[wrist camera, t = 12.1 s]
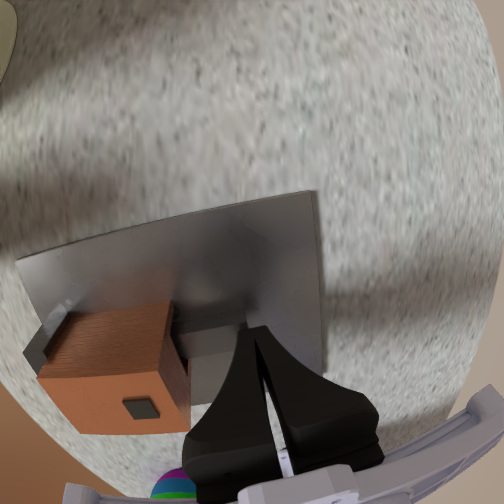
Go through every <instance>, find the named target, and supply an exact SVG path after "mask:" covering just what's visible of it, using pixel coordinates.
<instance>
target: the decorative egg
mask: <svg viewBox="0 0 504 504" xmlns="http://www.w3.org/2000/svg"><path fill="white" fill-rule="evenodd" d="M150 498H159V499H175V498H196V485H195V484H194V483H193V482H192V481H191V480H190V479H189V478H188V477H187V476H186V474H185V473H184V472H183V470H182V469H178V470H172V471H169V472H167V473H166V474H164V475H163V476H162V477H161V478H160V479H159V480H158V481H157V483H156V484H155V486H154V488H153V490H152V493H151V496H150Z"/></svg>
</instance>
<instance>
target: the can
mask: <svg viewBox="0 0 504 504" xmlns="http://www.w3.org/2000/svg"><path fill="white" fill-rule="evenodd" d="M16 33H17V16H16V12H15V10H14V8H13V6H12V5H11V4H10V3H9V2H7V1H4V0H0V83H1V81H2V79H3V77H4V74H5V72H6V69H7V67H8V64H9V61H10V58H11V55H12V51H13V48H14V44H15V39H16Z"/></svg>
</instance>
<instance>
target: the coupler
mask: <svg viewBox="0 0 504 504" xmlns="http://www.w3.org/2000/svg"><path fill="white" fill-rule="evenodd" d="M14 263H15V265H16V268H17V270H18V273H19V275H20V278H21V280H22V283H23V285H24V287H25V290H26V292H27V294H28V296H29V298H30V301H31V303H32V305H33V307H34V309H35V311H36V313H37V315H38V317H39V319H40V321H41V323H42V325H41V327H40V328H39V330H38V331H37V332H36V334H35V335H34V337H33V338H32V340H31V341H30V342H29V344H28V345H27V347H26V348H25V350H24V351H23V354H24V356H25V358H26V359H27V361H28V362H29V364H30V365H31V367H32V368H33V370H34V371H35V373H36V374H37V376H38V374H39V372H40V370H41V369H42V367H43V365H44V363H45V361H46V360H47V358H48V356H49V354H50V353H51V351H52V349H53V348H54V346H55V344H56V343H57V341H58V339H59V338H60V336H61V334H62V333H63V331H64V329H65V328H66V326H67V325H68V323H69V321H70V320H71V318H73V317H79V316H85V315H92V314H98V313H104V312H110V311H116V310H121V309H127V308H133V307H138V306H144V305H150V304H155V303H161V302H166V301H170V302H171V305H172V307H173V310H174V311H173V317H172V324H171V330H170V336H171V339H172V341H173V344H174V346H175V349H176V351H177V353H178V356H179V358H180V360H184V359H190V358H191V359H192V370H191V406H193V405H200V404H207V403H213V401H214V399H215V398H216V396H217V394H218V392H219V391H220V389H221V387H222V385H223V383H224V380H225V378H226V376H227V373H228V370H229V367H230V365H231V362H232V358H233V354H234V351H235V346H236V340H237V332H238V331H240V330H244V329H249V328H254V327H258V326H262V325H266V326H268V328H269V330H270V331H271V333H272V334H273V335H274V337H275V338H276V339H277V340H278V341H279V343H280V344H281V345H282V346H283V347H284V348H285V349H286V350H287V351H288V352H289V353H290V354H291V355H292V356H294V357H295V358H296V359H297V360H298V361H300V362H301V363H302V364H303V365H305V366H306V367H307V368H309V369H310V370H312V371H313V372H315V373H316V374H318V375H320V376H321V377H323V366H322V331H321V309H320V291H319V276H318V262H317V250H316V238H315V228H314V218H313V208H312V199H311V192H310V191H308V190H307V191H301V192H295V193H290V194H284V195H278V196H273V197H267V198H262V199H257V200H251V201H246V202H241V203H236V204H231V205H226V206H221V207H216V208H211V209H207V210H202V211H197V212H193V213H188V214H184V215H179V216H175V217H170V218H166V219H162V220H158V221H153V222H149V223H145V224H141V225H137V226H133V227H129V228H125V229H121V230H117V231H113V232H109V233H105V234H102V235H98V236H94V237H90V238H87V239H83V240H80V241H76V242H72V243H69V244H65V245H62V246H59V247H55V248H52V249H48V250H45V251H42V252H38V253H35V254H32V255H29V256H25V257H22V258H19V259H17V260H16V261H14ZM263 379H264V378H263ZM264 387H265V393H266V392H268V389H267V386H266V384H265V381H264Z"/></svg>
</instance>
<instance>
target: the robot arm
mask: <svg viewBox="0 0 504 504" xmlns="http://www.w3.org/2000/svg"><path fill="white" fill-rule="evenodd" d="M263 378H264V379H263ZM264 381H265V384H266V386H267V389H268V392H269V394H270V397H271V400H272V402H273V405H274V408H275V410H276V413H277V416H278V419H279V422H280V426H281V430H282V433H283V437H284V441H285V445H286V448H287V449H285V450H281V451H279V452H278V454H277V450H276V446H275V442H274V438H273V434H272V430H271V426H270V422H269V416H268V410H267V402H266V394H265V387H264ZM378 421H379V414H378V412H377V410H376V408H375V407H374V406H373V404H372V403H371V402H370V401H369V399H368V398H367V397H366V396H365V395H364V394H363V393H359V392H356V391H353V390H350V389H347V388H344V387H342V386H339V385H337V384H335V383H333V382H331V381H329V380H327V379H325V378H323V377H321V376H320V375H318V374H316V373H315V372H313V371H312V370H310V369H309V368H307V367H306V366H305V365H303V364H302V363H301V362H300V361H298V360H297V359H296V358H295V357H294V356H292V355H291V354H290V353H289V352H288V351H287V350H286V349H285V348H284V347H283V346H282V345H281V344H280V343H279V341H278V340H277V339H276V338H275V337H274V335H273V334H272V333H271V331H270V330H269V328H268V326H266V325H262V326H258V327H254V328H249V329H244V330H240V331H238V332H237V340H236V346H235V351H234V354H233V358H232V362H231V365H230V367H229V370H228V373H227V376H226V378H225V380H224V383H223V385H222V387H221V389H220V391H219V392H218V394H217V396H216V398H215V399H214V401H213V403H212V404H211V406H210V407H209V409H208V410H207V411H206V413H205V414H204V415H203V417H202V418H201V419H200V420H199V422H198V423H197V424H196V425H195V426H194V427H193V428H192V429H191V430H190V431H189V432H188V433H187V434H186V436H185V440H184V444H183V450H182V470H183V472H184V473H185V474H186V476H187V477H188V478H189V479H190V480H191V481H192V482H193V483H194V484H195V485H196V498H175V499H159V498H134V497H120V496H111V495H103V494H99V493H98V492H97V491H96V490H94V489H93V488H91V487H88V486H84V485H79V484H73V483H66V488H65V492H64V497H63V502H62V504H414V503H416V502H417V501H419V500H421V499H423V498H424V497H426V496H428V495H429V494H431V493H432V492H434V491H436V490H437V489H439V488H440V487H442V486H443V485H445V484H446V483H448V482H449V481H450V480H452V479H453V478H455V477H456V476H457V475H459V474H460V473H462V472H463V471H464V470H466V469H467V468H468V467H470V466H471V465H472V464H474V463H475V462H476V461H477V460H479V459H480V458H481V457H482V456H484V455H485V454H486V453H488V452H489V451H490V450H491V449H492V448H493V447H495V446H496V445H497V443H498V442H499V441H500V440H501V439H502V437H503V436H504V399H503V398H502V396H501V395H500V394H499V393H498V392H497V391H496V390H495V389H494V387H493V386H492V385H491V384H489V385H487V386H486V387H484V388H483V389H482V390H480V391H479V392H477V393H476V394H475V395H474V396H473V397H472V398H471V399H470V400H469V402H468V403H467V406H466V408H465V409H463V410H462V411H460V412H459V413H457V414H456V415H454V416H453V417H451V418H449V419H448V420H446V421H444V422H443V423H441V424H439V425H438V426H436V427H434V428H432V429H431V430H429V431H427V432H425V433H423V434H421V435H420V436H418V437H416V438H414V439H412V440H410V441H408V442H406V443H404V444H402V445H400V446H398V447H395V448H393V449H391V450H389V451H387V452H384V453H383V452H382V450H381V448H380V446H379V444H378V442H379V439H378V437H377V435H376V433H375V432H376V428H377V425H378Z"/></svg>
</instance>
